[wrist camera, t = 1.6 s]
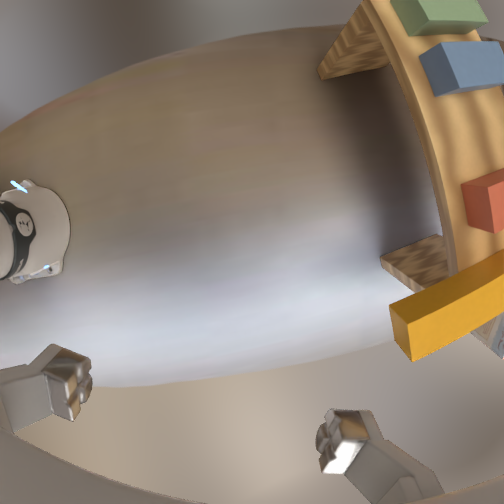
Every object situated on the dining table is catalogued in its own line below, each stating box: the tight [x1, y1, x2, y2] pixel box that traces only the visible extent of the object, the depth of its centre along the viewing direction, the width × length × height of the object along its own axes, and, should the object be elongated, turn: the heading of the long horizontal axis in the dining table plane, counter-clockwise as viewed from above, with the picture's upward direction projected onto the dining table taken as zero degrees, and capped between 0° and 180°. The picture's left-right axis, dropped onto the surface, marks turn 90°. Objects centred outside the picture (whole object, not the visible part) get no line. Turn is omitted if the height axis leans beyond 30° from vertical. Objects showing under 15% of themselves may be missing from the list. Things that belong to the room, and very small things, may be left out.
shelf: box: [317, 0, 504, 293], centre depth 34 cm, size 12×34×24 cm, turn 20°
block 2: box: [419, 41, 504, 97], centre depth 18 cm, size 8×4×4 cm, turn 110°
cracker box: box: [470, 312, 504, 359], centre depth 40 cm, size 14×6×21 cm, turn 167°
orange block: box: [389, 249, 504, 362], centre depth 23 cm, size 20×4×4 cm, turn 110°
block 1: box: [390, 0, 488, 37], centre depth 17 cm, size 8×4×4 cm, turn 110°
